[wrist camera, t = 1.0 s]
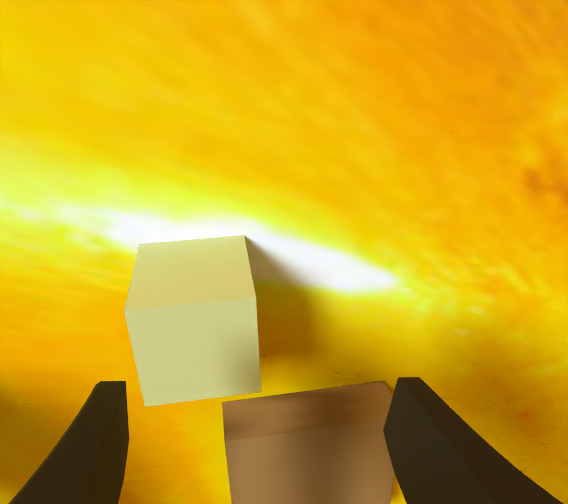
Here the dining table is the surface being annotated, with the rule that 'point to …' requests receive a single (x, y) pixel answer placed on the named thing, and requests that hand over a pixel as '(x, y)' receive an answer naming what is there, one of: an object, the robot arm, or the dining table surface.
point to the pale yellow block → (193, 320)
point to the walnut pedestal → (310, 447)
